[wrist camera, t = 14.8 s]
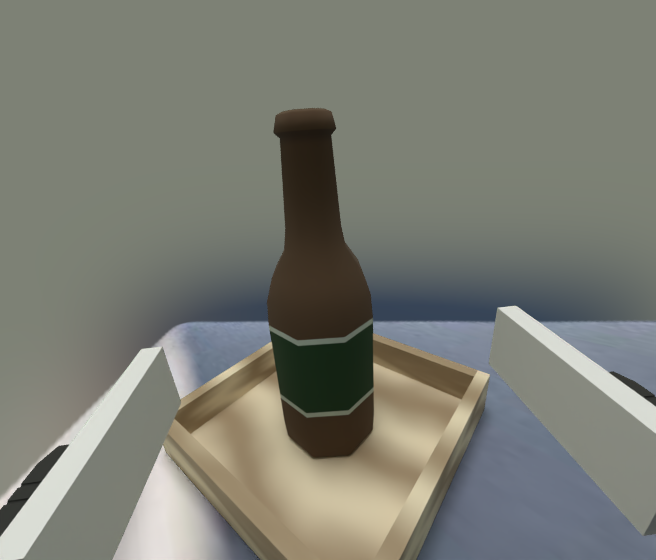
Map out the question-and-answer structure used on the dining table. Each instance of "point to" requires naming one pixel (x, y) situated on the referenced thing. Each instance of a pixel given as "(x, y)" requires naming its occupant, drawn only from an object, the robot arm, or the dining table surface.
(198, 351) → the dining table surface
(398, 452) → the oak tray
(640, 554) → the dining table surface
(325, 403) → the beer bottle
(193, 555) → the dining table surface
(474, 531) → the dining table surface
